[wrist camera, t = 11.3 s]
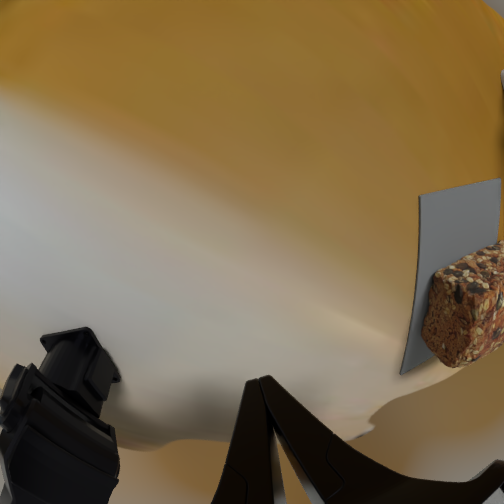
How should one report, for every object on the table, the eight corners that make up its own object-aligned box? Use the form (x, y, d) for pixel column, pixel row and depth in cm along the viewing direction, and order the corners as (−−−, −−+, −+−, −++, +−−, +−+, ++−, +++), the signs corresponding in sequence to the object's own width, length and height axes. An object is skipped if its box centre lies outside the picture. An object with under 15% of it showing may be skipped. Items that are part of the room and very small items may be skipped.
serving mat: (399, 373, 30) (400, 375, 30) (417, 195, 21) (420, 196, 21) (476, 323, 32) (477, 324, 31) (498, 177, 23) (500, 178, 22)
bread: (503, 233, 26) (552, 257, 17) (490, 296, 30) (531, 325, 21) (429, 264, 24) (498, 309, 14) (414, 341, 28) (462, 391, 18)
